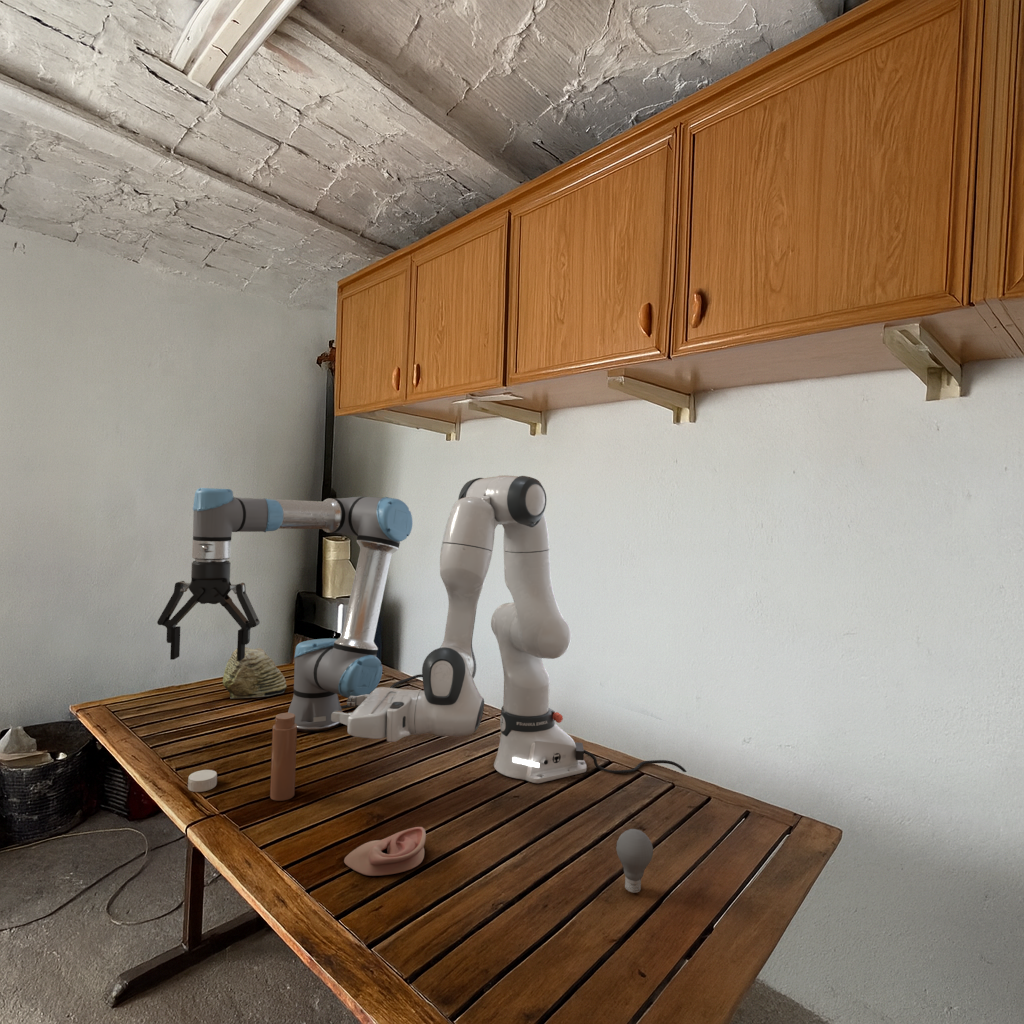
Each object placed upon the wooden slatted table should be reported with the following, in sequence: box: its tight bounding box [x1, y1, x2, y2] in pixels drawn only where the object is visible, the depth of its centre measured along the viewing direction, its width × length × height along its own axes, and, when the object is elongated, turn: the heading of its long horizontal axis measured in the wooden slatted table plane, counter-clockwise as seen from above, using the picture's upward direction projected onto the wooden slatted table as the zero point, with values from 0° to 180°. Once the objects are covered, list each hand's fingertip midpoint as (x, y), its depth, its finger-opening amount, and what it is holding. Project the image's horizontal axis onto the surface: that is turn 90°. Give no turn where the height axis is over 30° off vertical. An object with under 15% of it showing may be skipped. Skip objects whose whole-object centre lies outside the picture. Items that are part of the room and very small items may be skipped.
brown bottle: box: [269, 712, 298, 802], centre depth 134 cm, size 5×5×17 cm
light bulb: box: [615, 828, 654, 894], centre depth 106 cm, size 6×6×10 cm
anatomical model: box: [343, 826, 427, 877], centre depth 112 cm, size 13×4×12 cm
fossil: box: [222, 646, 288, 699], centre depth 198 cm, size 9×18×15 cm, turn 132°
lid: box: [187, 769, 218, 793], centre depth 136 cm, size 6×6×2 cm
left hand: (208, 658), depth 136 cm, fingers open, 13 cm apart
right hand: (340, 708), depth 133 cm, fingers open, 8 cm apart
